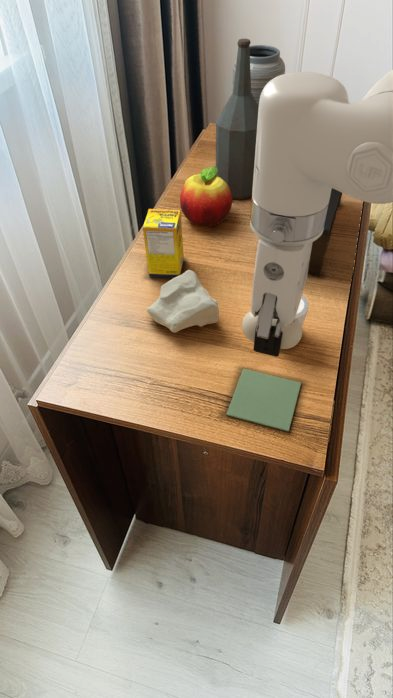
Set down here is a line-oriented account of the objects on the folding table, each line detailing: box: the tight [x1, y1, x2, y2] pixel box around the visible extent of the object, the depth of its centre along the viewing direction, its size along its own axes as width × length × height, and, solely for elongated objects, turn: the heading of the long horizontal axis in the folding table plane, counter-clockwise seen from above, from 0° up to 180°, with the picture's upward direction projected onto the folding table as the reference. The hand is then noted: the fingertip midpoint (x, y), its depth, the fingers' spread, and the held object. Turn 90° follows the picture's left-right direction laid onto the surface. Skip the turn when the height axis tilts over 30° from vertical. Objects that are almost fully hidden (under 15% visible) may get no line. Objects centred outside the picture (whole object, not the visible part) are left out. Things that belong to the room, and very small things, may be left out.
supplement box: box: [142, 208, 185, 278], centre depth 90 cm, size 6×6×11 cm
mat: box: [226, 368, 302, 432], centre depth 73 cm, size 9×9×1 cm
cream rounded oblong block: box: [241, 310, 303, 350], centre depth 62 cm, size 8×4×4 cm, turn 71°
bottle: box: [215, 38, 259, 200], centre depth 103 cm, size 10×10×30 cm
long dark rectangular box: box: [307, 188, 343, 278], centre depth 97 cm, size 10×26×10 cm, turn 161°
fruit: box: [179, 165, 233, 228], centre depth 102 cm, size 11×11×10 cm
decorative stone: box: [146, 269, 220, 333], centre depth 83 cm, size 11×9×10 cm
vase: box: [231, 44, 286, 106], centre depth 117 cm, size 12×12×23 cm
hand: (271, 337), depth 63 cm, fingers closed on cream rounded oblong block, 4 cm apart
